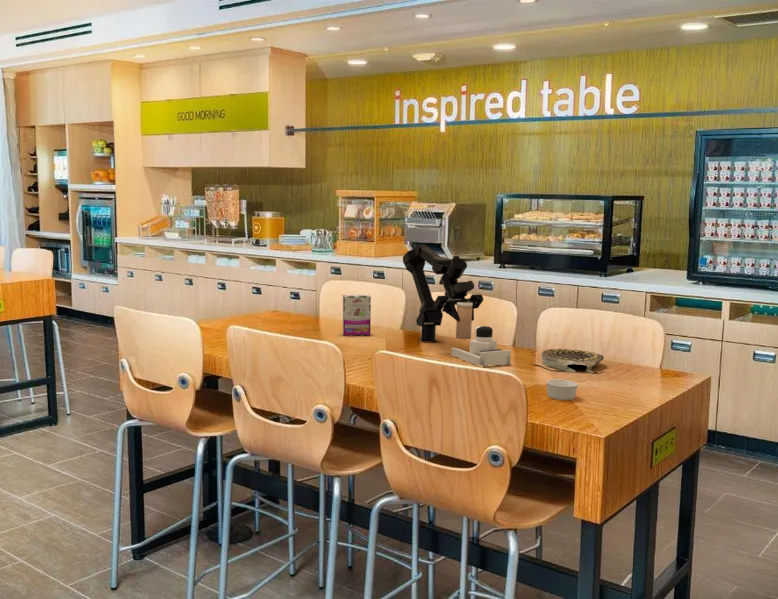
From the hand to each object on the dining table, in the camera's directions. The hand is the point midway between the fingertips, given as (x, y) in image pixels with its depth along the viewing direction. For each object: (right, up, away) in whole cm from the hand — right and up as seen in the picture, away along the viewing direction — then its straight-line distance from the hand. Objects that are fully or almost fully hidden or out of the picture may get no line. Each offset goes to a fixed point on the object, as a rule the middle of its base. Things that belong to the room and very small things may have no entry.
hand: (466, 320), depth 286 cm
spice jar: (-1, -6, +2) cm, 7 cm away
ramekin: (+22, -21, -56) cm, 64 cm away
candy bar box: (-41, -7, +36) cm, 56 cm away
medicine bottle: (+5, -14, -9) cm, 17 cm away
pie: (+36, -16, -12) cm, 41 cm away
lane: (+4, -14, -8) cm, 16 cm away
